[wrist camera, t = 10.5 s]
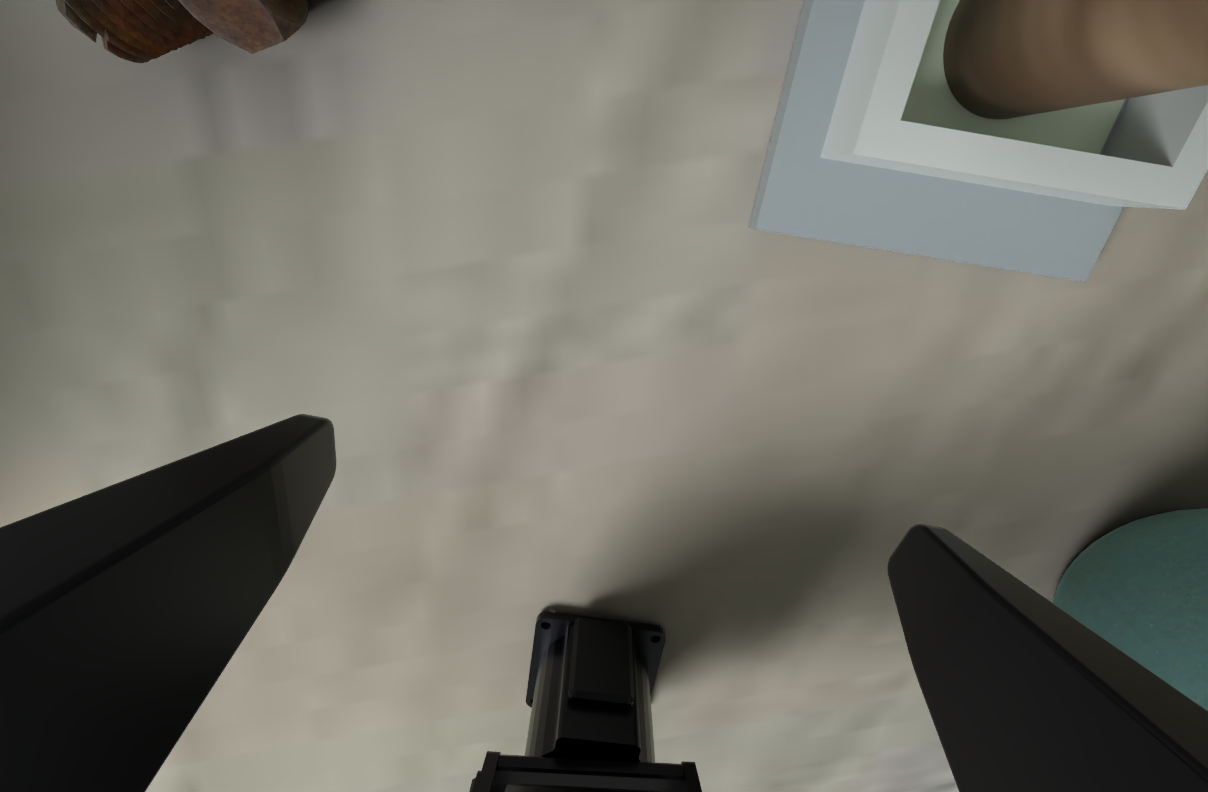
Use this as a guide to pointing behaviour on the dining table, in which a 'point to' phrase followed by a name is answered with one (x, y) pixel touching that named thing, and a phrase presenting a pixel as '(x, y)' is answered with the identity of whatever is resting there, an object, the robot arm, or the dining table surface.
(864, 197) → the white tray
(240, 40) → the bolt
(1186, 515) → the teal bowl
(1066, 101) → the walnut cylinder
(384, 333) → the dining table surface
